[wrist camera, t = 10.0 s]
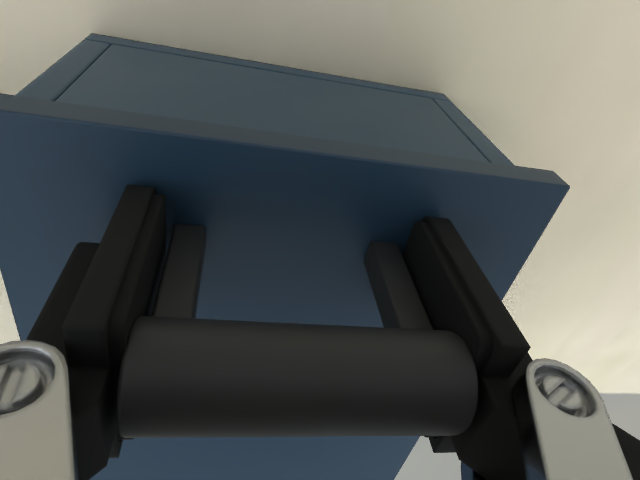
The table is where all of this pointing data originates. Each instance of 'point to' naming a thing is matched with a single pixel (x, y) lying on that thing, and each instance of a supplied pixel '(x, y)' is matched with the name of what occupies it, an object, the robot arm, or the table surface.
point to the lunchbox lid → (265, 285)
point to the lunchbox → (259, 98)
